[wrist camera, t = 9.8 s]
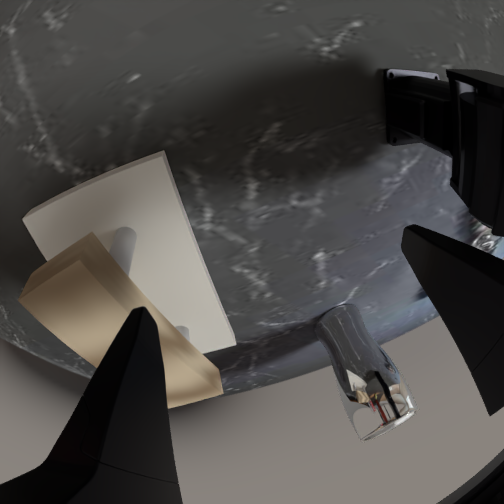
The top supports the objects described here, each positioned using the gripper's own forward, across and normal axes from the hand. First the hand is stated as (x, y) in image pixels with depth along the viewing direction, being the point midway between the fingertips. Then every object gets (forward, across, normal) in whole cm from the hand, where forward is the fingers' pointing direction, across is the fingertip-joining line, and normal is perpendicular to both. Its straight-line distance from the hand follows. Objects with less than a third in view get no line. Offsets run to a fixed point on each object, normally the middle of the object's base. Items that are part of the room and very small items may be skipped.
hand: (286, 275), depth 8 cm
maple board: (+6, +10, +8) cm, 14 cm away
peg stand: (+12, +10, +8) cm, 18 cm away
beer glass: (+12, -8, +22) cm, 26 cm away
